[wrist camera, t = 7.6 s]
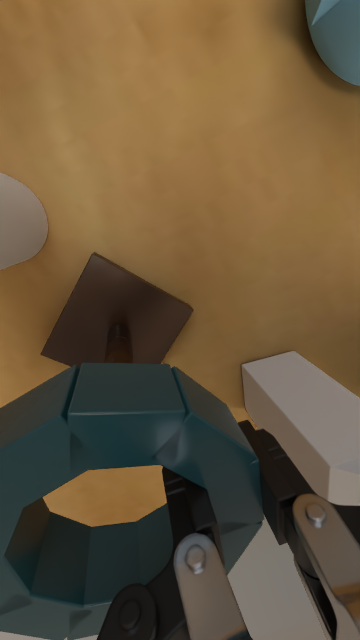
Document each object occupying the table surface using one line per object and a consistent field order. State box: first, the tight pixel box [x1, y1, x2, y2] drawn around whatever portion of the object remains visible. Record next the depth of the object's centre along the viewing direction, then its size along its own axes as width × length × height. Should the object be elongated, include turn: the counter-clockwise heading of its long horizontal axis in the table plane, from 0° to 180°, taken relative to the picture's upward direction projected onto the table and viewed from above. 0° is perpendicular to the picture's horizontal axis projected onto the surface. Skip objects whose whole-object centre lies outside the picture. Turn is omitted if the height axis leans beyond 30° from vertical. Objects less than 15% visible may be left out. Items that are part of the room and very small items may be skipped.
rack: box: [41, 252, 193, 367], centre depth 21 cm, size 11×11×14 cm
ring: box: [0, 363, 264, 640], centre depth 10 cm, size 11×11×3 cm
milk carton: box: [241, 351, 360, 506], centre depth 25 cm, size 7×7×19 cm
